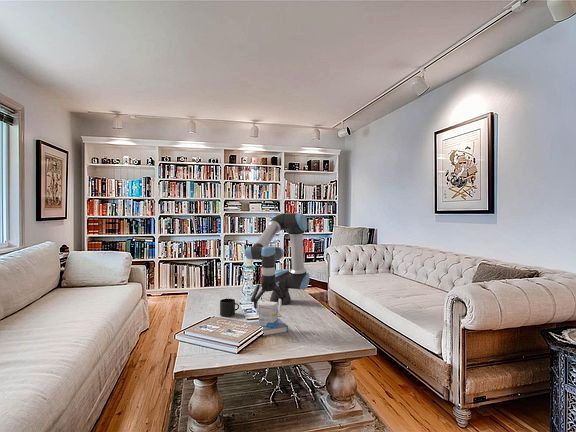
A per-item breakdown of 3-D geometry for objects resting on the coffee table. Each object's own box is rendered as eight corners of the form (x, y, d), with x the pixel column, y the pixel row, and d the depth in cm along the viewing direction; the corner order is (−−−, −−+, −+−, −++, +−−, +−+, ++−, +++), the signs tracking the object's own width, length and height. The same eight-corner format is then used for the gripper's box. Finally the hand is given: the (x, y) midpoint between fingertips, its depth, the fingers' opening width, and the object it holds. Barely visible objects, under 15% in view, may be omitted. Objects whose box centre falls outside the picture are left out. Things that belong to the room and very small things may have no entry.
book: (279, 324, 187) (279, 318, 187) (287, 332, 175) (287, 325, 175) (249, 328, 180) (249, 322, 180) (256, 337, 168) (256, 330, 168)
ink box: (278, 322, 180) (278, 301, 180) (272, 327, 172) (273, 306, 172) (264, 320, 183) (264, 300, 183) (258, 325, 175) (258, 304, 175)
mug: (239, 316, 200) (239, 302, 200) (219, 317, 198) (219, 303, 198) (238, 311, 209) (238, 297, 209) (220, 312, 207) (220, 298, 207)
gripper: (286, 271, 185) (286, 307, 186) (244, 275, 176) (245, 313, 176) (291, 273, 179) (291, 311, 179) (248, 277, 169) (248, 317, 170)
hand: (268, 312), depth 178 cm, fingers open, 13 cm apart
